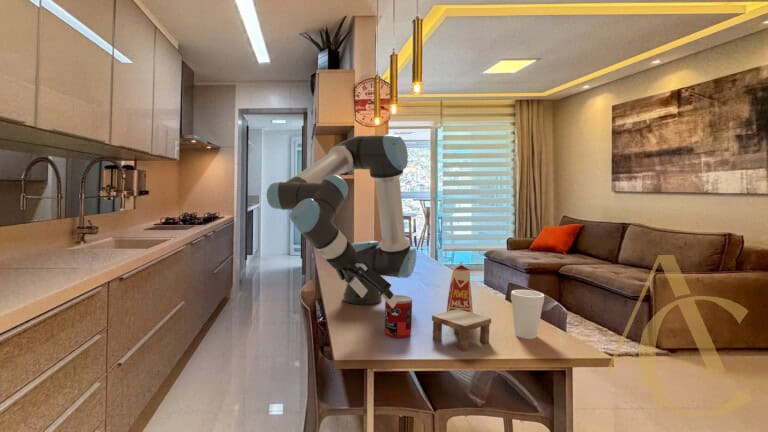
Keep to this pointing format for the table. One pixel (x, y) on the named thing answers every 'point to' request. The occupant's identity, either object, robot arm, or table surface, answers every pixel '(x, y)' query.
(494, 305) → the table surface
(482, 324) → the stool
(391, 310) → the canned food
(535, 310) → the foam cup
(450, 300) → the milk carton
